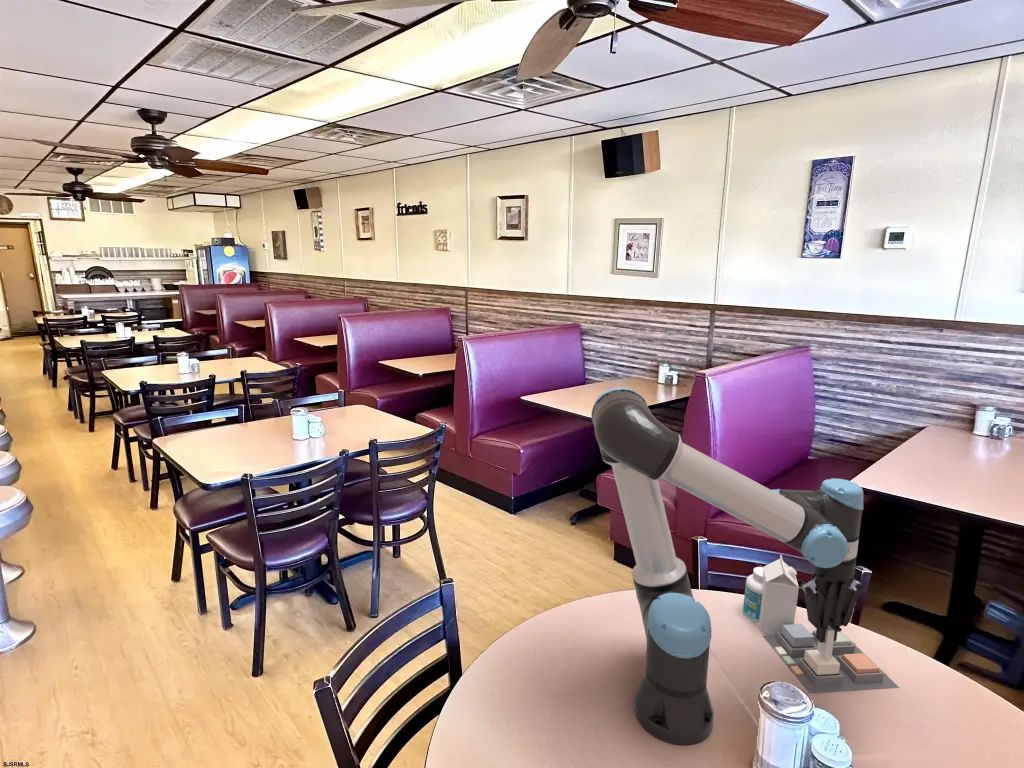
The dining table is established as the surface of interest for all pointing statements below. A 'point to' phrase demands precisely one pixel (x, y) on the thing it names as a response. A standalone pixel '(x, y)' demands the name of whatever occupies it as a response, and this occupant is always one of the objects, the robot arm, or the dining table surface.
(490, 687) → the dining table surface
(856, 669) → the terracotta key
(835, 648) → the keypad
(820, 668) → the cream key
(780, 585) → the milk carton
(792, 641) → the slate key
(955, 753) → the dining table surface
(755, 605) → the pill bottle
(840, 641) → the sage key
